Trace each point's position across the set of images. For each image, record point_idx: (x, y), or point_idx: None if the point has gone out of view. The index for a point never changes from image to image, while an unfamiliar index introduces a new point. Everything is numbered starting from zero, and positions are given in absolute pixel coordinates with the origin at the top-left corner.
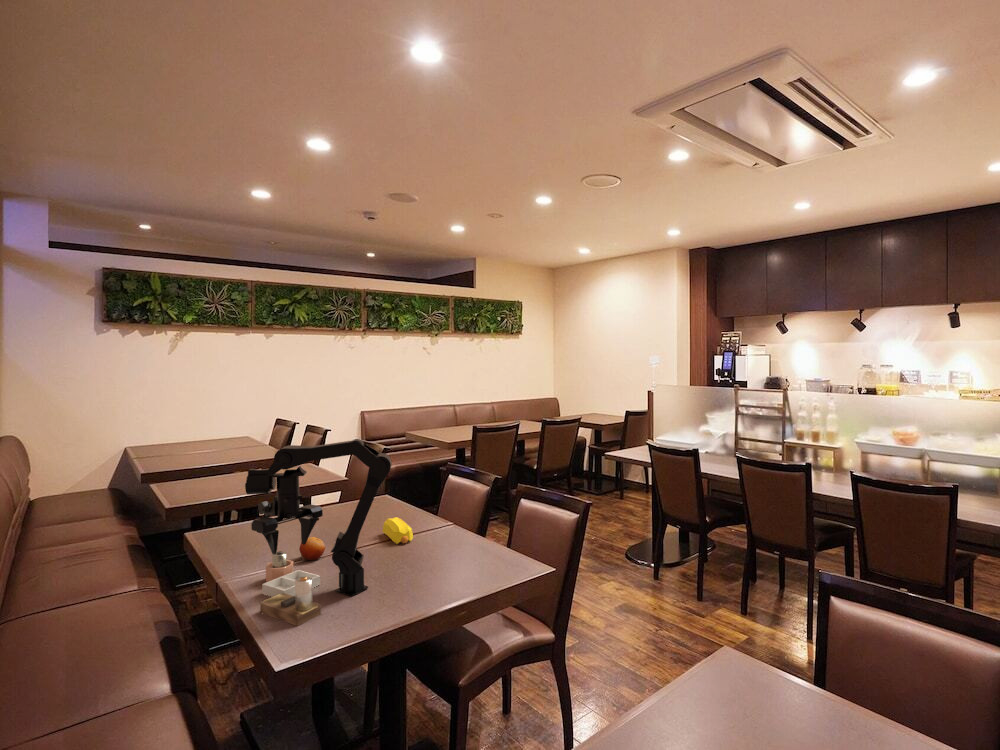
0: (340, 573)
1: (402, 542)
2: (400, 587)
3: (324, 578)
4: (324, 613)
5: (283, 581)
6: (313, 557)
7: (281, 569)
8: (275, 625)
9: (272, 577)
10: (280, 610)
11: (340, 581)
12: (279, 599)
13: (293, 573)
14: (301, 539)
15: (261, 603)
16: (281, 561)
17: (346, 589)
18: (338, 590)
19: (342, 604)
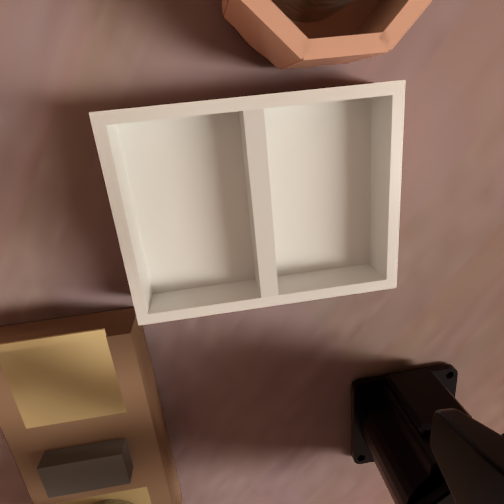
0: (414, 447)
1: None
2: None
3: (452, 200)
4: (196, 497)
5: (243, 135)
6: None
7: (286, 50)
8: (6, 466)
9: (226, 6)
10: (25, 480)
11: (393, 414)
12: (72, 386)
13: (348, 98)
14: (474, 456)
15: None
16: None
17: (367, 444)
18: (359, 398)
19: (286, 481)
